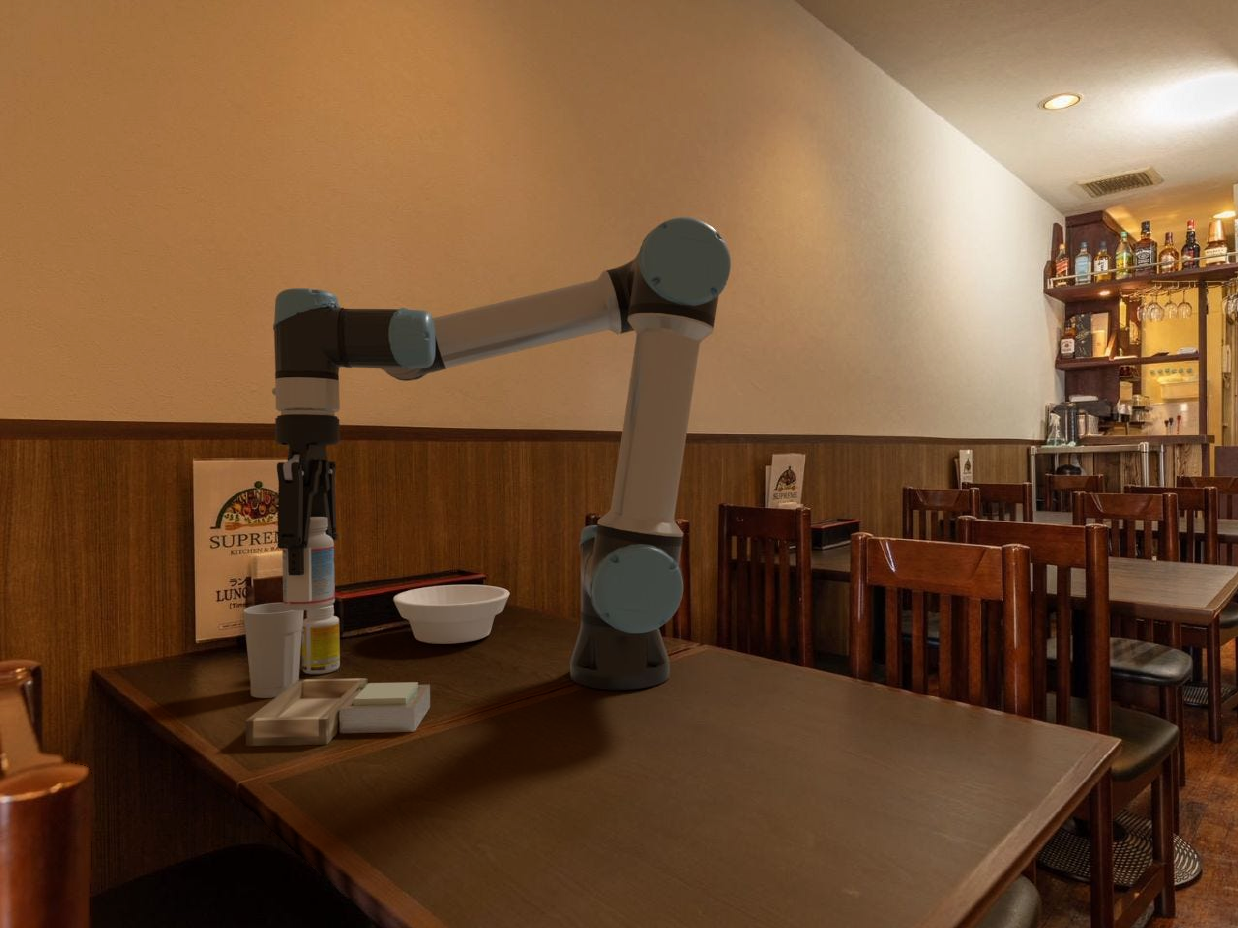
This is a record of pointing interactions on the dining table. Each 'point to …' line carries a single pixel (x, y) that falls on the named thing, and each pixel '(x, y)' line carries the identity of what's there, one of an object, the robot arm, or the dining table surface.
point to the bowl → (451, 611)
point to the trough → (302, 713)
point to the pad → (386, 694)
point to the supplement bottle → (320, 641)
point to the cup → (272, 648)
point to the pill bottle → (316, 568)
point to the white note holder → (384, 714)
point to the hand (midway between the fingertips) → (309, 595)
